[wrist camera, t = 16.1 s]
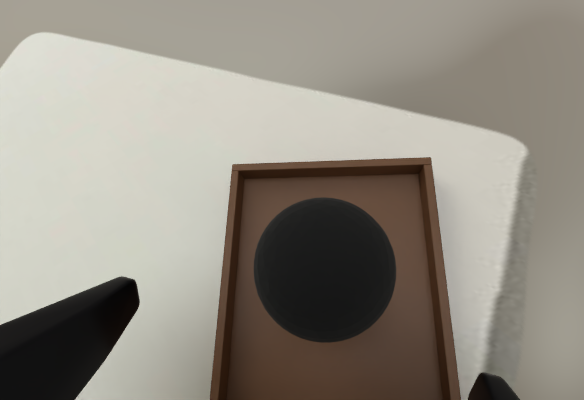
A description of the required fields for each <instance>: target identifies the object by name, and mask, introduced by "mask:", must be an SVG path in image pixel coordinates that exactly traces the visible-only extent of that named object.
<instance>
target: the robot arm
mask: <svg viewBox="0 0 584 400" xmlns="http://www.w3.org/2000/svg"><path fill="white" fill-rule="evenodd" d="M139 302H140V301H139V295H138V289H137V284H136V281H135V280H133V279H130V278H127V277H118V278H115V279H113V280H110V281H108V282H105V283H103V284H100V285H98V286H95V287H93V288H91V289H88V290H86V291H83V292H81V293H78V294H76V295H73V296H71V297H68V298H66V299H63V300H61V301H59V302H56V303H54V304H51V305H49V306H46V307H44V308H41V309H39V310H36V311H34V312H31V313H29V314H27V315H24V316H22V317H19V318H17V319H14V320H12V321H9V322H7V323H4V324H2V325H0V400H75V399H76V397H77V396H78V395H79V393H80V392H81V391H82V389H83V388H84V387H85V386H86V384H87V383H88V382H89V380H90V379H91V378H92V377H93V375H94V374H95V373H96V371H97V370H98V369H99V367H100V366H101V365H102V363H103V362H104V361H105V359H106V358H107V356H108V355H109V353H110V352H111V350H112V349H113V347H114V346H115V344H116V342H117V341H118V339H119V338H120V336H121V335H122V333H123V331H124V330H125V328H126V327H127V325H128V324H129V322H130V320H131V319H132V317H133V316H134V314H135V313H136V311H137V309H138V307H139ZM468 400H520V399H519V398H518V396H517V395H516V394H515V393H514V391H513V390H512V389H511V388H510V387H509V385H508V384H507V383H506V382H505V380H504V379H502V378H501V377H499V376H496V375H492V374H488V373H480V374H479V376H478V377H477V379H476V381H475V383H474V385H473V387H472V389H471V391H470V393H469V397H468Z"/></svg>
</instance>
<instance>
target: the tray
mask: <svg viewBox="0 0 584 400" xmlns="http://www.w3.org/2000/svg"><path fill="white" fill-rule="evenodd" d="M431 164H432V163H431V158H430V157H428V158H400V159H372V160H344V161H316V162H288V163H260V164H233V165H232V174H231V185H230V195H229V205H228V216H227V226H226V236H225V247H224V257H223V267H222V278H221V288H220V299H219V309H218V319H217V330H216V340H215V350H214V361H213V371H212V381H211V392H210V400H461V397H460V388H459V380H458V372H457V364H456V356H455V348H454V340H453V332H452V324H451V316H450V308H449V300H448V292H447V284H446V276H445V267H444V259H443V251H442V243H441V235H440V227H439V219H438V211H437V203H436V195H435V187H434V179H433V171H432V165H431ZM321 197H326V198H335V199H340V200H344V201H347V202H350V203H352V204H354V205H356V206H358V207H360V208H361V209H363V210H364V211H366V212H367V213H368V214H369V215H370V216H372V217H373V218H374V219H375V220H376V222H377V223H378V224H379V225H380V226H381V227H382V229H383V230H384V231H385V233H386V235H387V236H388V239H389V241H390V243H391V246H392V248H393V251H394V255H395V260H396V282H395V287H394V291H393V295H392V298H391V300H390V302H389V304H388V306H387V308H386V310H385V311H384V313H383V314H382V315H381V317H380V318H379V319H378V320H377V321H376V322H375V323H374V324H373V325H372V326H371V327H370V328H368V329H367V330H365V331H364V332H362V333H361V334H359V335H357V336H355V337H352V338H350V339H347V340H343V341H338V342H332V343H321V342H313V341H309V340H305V339H302V338H299V337H297V336H295V335H293V334H291V333H289V332H288V331H286V330H285V329H283V328H282V327H281V326H280V325H278V324H277V323H276V322H275V321H274V320H273V319H272V318H271V316H270V315H269V314H268V312H267V311H266V310H265V308H264V306H263V304H262V302H261V300H260V298H259V296H258V293H257V289H256V286H255V282H254V258H255V252H256V248H257V244H258V242H259V240H260V237H261V235H262V233H263V232H264V230H265V228H266V227H267V226H268V224H269V223H270V222H271V221H272V220H273V219H274V218H275V217H276V216H277V215H278V214H279V213H280V212H281V211H283V210H284V209H286V208H287V207H289V206H291V205H293V204H295V203H297V202H300V201H303V200H306V199H311V198H321Z"/></svg>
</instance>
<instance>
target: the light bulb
mask: <svg viewBox="0 0 584 400" xmlns="http://www.w3.org/2000/svg"><path fill="white" fill-rule="evenodd" d="M254 282H255V286H256V289H257V293H258V296H259V298H260V300H261V302H262V304H263V306H264V308H265V310H266V311H267V312H268V314H269V315H270V316H271V318H272V319H273V320H274V321H275V322H276V323H277V324H278V325H280V326H281V327H282V328H283V329H285V330H286V331H288V332H289V333H291V334H293V335H295V336H297V337H299V338H302V339H305V340H309V341H313V342H321V343H332V342H338V341H343V340H347V339H350V338H352V337H355V336H357V335H359V334H361V333H362V332H364V331H365V330H367V329H368V328H370V327H371V326H372V325H373V324H374V323H375V322H376V321H377V320H378V319H379V318H380V317H381V315H382V314H383V313H384V311H385V310H386V308H387V306H388V304H389V302H390V300H391V298H392V295H393V291H394V287H395V282H396V260H395V255H394V251H393V248H392V246H391V243H390V241H389V239H388V236H387V235H386V233H385V231H384V230H383V229H382V227H381V226H380V225H379V224H378V223H377V222H376V220H375V219H374V218H373V217H372V216H370V215H369V214H368V213H367V212H366V211H364V210H363V209H361V208H360V207H358V206H356V205H354V204H352V203H350V202H347V201H344V200H340V199H335V198H326V197H321V198H311V199H306V200H303V201H300V202H297V203H295V204H293V205H291V206H289V207H287V208H286V209H284V210H283V211H281V212H280V213H279V214H278V215H277V216H276V217H275V218H274V219H273V220H272V221H271V222H270V223H269V224H268V226H267V227H266V228H265V230H264V232H263V233H262V235H261V237H260V240H259V242H258V244H257V248H256V252H255V258H254Z"/></svg>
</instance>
